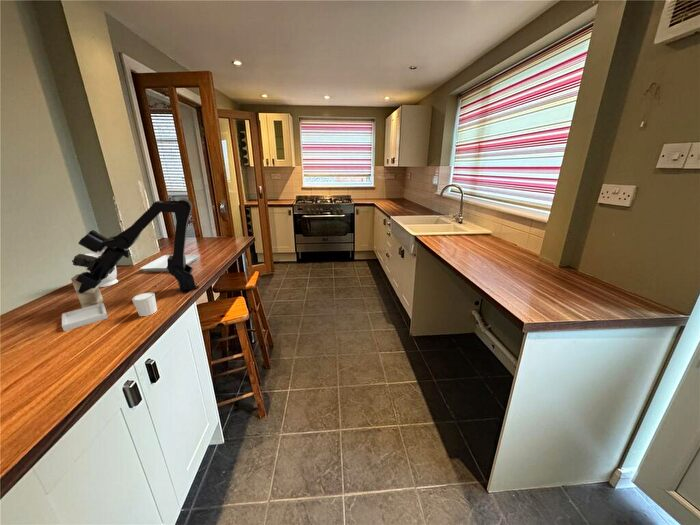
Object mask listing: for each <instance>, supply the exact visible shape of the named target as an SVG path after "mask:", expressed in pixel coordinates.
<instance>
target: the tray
mask: <svg viewBox="0 0 700 525" xmlns="http://www.w3.org/2000/svg"><path fill="white" fill-rule="evenodd" d="M107 319H109V316H108V312H107V309H106V307H105V303H104V302H101V303H100V304H96V305H93V306H89V307H85V308H82V307H81V308H79V309H78V308H77V309H73V310H70V311H67V312H62V313H61V328H62V330H63V331H64V332H67V331H70V330H73V329H76V328H80V327H83V326H84V327H85V326H86V325H90V324H94V323H97V322H100V321H103V320H107Z"/></svg>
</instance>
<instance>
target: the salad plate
mask: <svg viewBox="0 0 700 525" xmlns="http://www.w3.org/2000/svg"><path fill="white" fill-rule="evenodd" d="M170 255H172V256H173V254H165V255H162V256H160V257H158V258H156V259H154V260H152V261H151V262H149V263H146V264H145V265H143V266H141V267H140V268H139V270H141V271H144V272H155V273H156V272H168V269H166V268H167V266H168V262H167V259H168V258H169V256H170ZM200 258H201V254H185V259H186V264H187V265H188V266H190V265H191V264H192V263H194V262H195V261H197V260H198V259H200Z"/></svg>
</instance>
